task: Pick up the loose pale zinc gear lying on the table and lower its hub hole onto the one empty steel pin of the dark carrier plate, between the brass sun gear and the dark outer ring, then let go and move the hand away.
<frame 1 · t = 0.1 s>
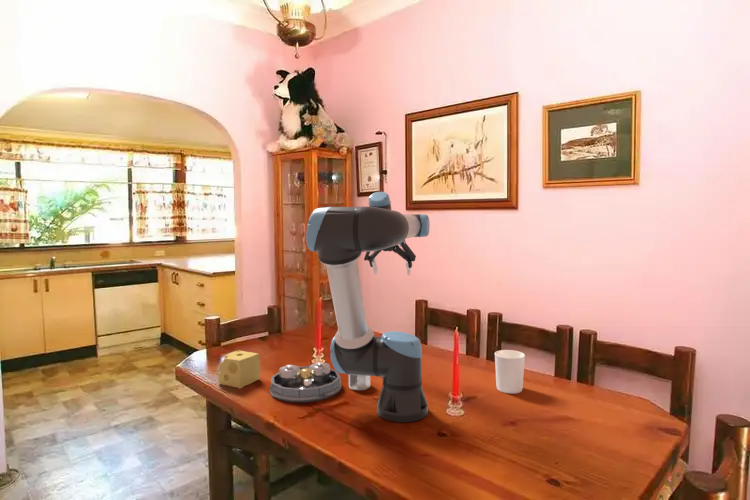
hand: (392, 272, 186), 36 cm above the table, tool tilted 35°, fingers open, 13 cm apart
cheese: (240, 382, 167), on the table
carrier: (306, 388, 159), on the table
loose gear: (359, 386, 161), on the table
white tapered cup: (509, 389, 157), on the table
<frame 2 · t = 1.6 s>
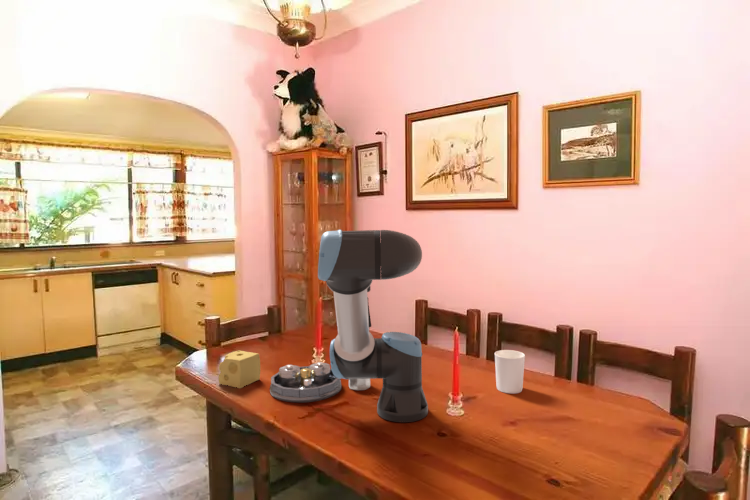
hand: (360, 341, 161), 15 cm above the table, tool pointing down, fingers open, 13 cm apart
nothing on the table moved.
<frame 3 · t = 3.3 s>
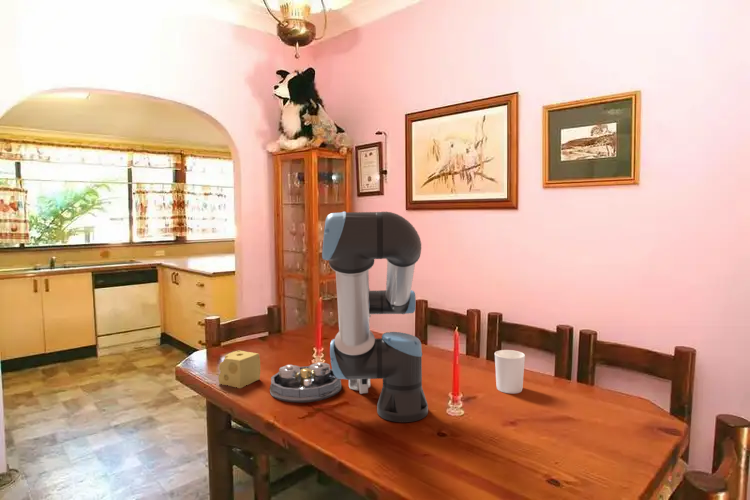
hand: (359, 385, 161), 0 cm above the table, tool pointing down, fingers open, 13 cm apart
nothing on the table moved.
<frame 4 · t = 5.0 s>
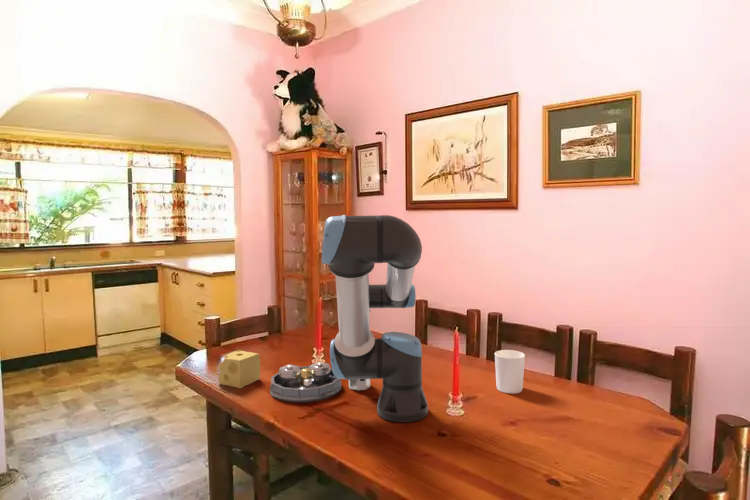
hand: (359, 385, 161), 0 cm above the table, tool pointing down, fingers closed on loose gear, 7 cm apart
loose gear: (359, 386, 161), on the table, touching gripper
everything else where it was.
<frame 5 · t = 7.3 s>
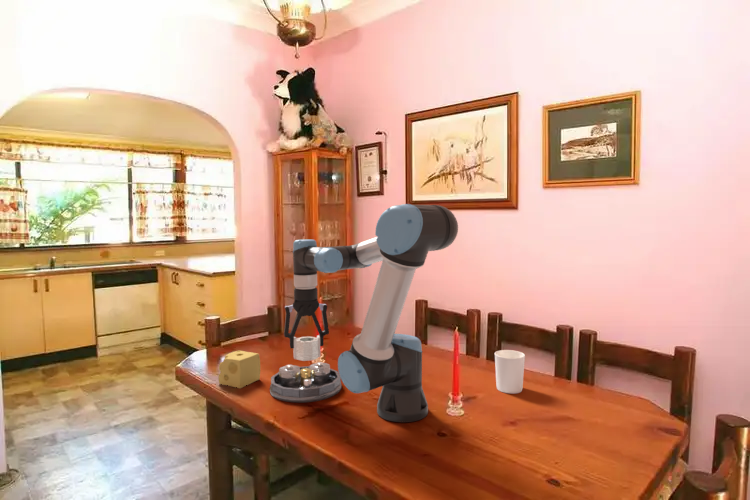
hand: (307, 356, 153), 13 cm above the table, tool pointing down, fingers closed on loose gear, 7 cm apart
loose gear: (306, 357, 153), point 13 cm above the table, touching gripper
everything else where it was.
when the fingers open (2 cm above the table, at t = 9.5 s): loose gear stays where it is, resting on carrier.
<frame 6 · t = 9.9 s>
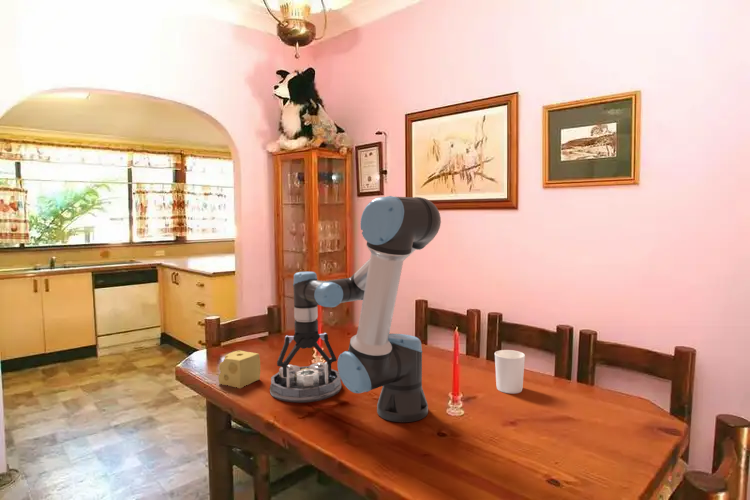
hand: (307, 384, 153), 4 cm above the table, tool pointing down, fingers open, 12 cm apart
loose gear: (307, 390, 153), point 1 cm above the table, touching carrier
everything else where it was.
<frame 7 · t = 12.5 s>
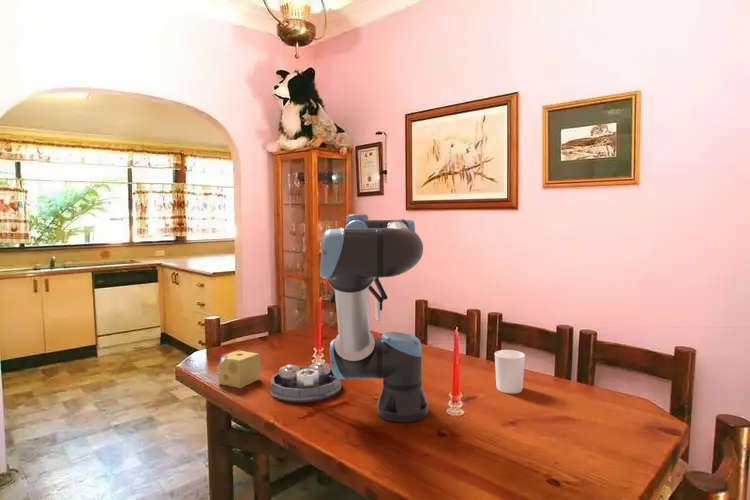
hand: (358, 321, 160), 22 cm above the table, tool pointing down, fingers open, 13 cm apart
nothing on the table moved.
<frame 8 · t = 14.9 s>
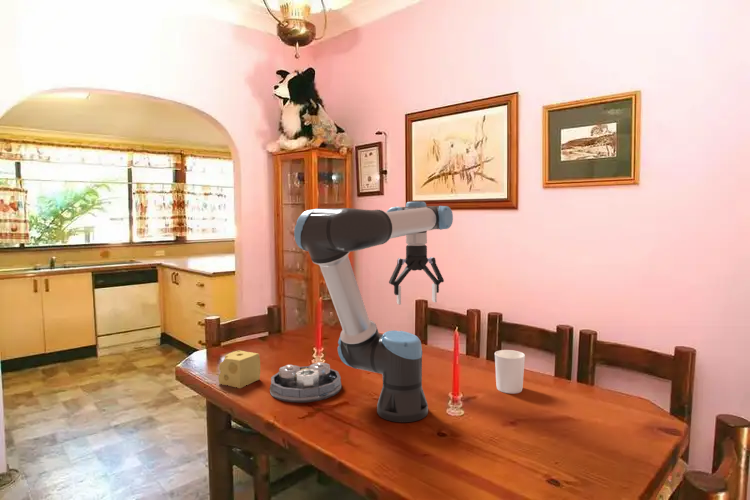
hand: (416, 302, 170), 27 cm above the table, tool pointing down, fingers open, 13 cm apart
nothing on the table moved.
at the end: loose gear 0.1 cm from the target spot on the carrier, point 1.5 cm above the carrier's base; loose gear tilted 0°; the gripper is holding nothing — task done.
